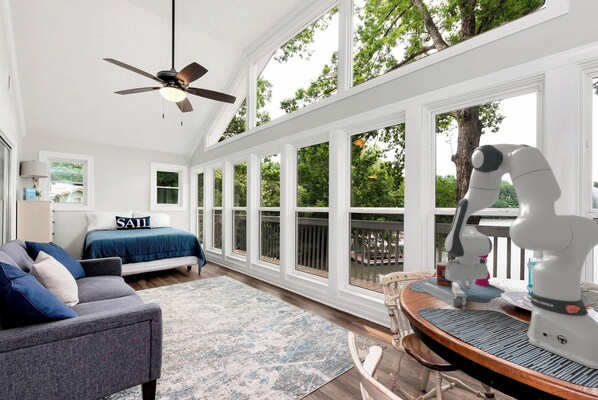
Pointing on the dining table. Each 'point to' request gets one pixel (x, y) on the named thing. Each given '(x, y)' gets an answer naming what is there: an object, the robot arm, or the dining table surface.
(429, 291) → the tongs fixed handle
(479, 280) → the pepper mill
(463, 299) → the hinged handle
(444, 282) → the canned food
